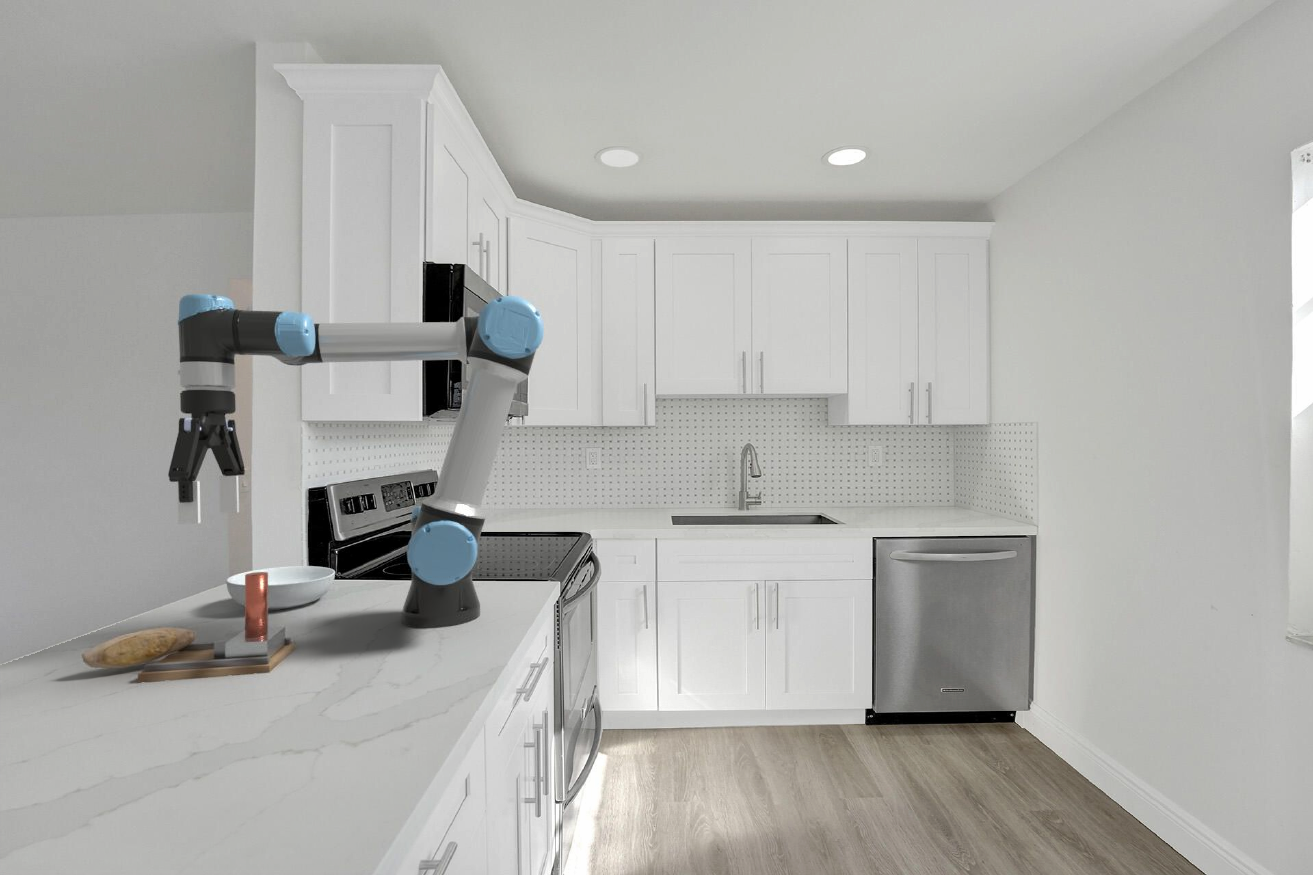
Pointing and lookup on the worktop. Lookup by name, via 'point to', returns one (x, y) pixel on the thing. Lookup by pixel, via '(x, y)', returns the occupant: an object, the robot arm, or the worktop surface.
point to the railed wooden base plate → (209, 664)
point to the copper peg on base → (252, 625)
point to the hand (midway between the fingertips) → (210, 518)
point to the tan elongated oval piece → (138, 647)
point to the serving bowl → (287, 585)
